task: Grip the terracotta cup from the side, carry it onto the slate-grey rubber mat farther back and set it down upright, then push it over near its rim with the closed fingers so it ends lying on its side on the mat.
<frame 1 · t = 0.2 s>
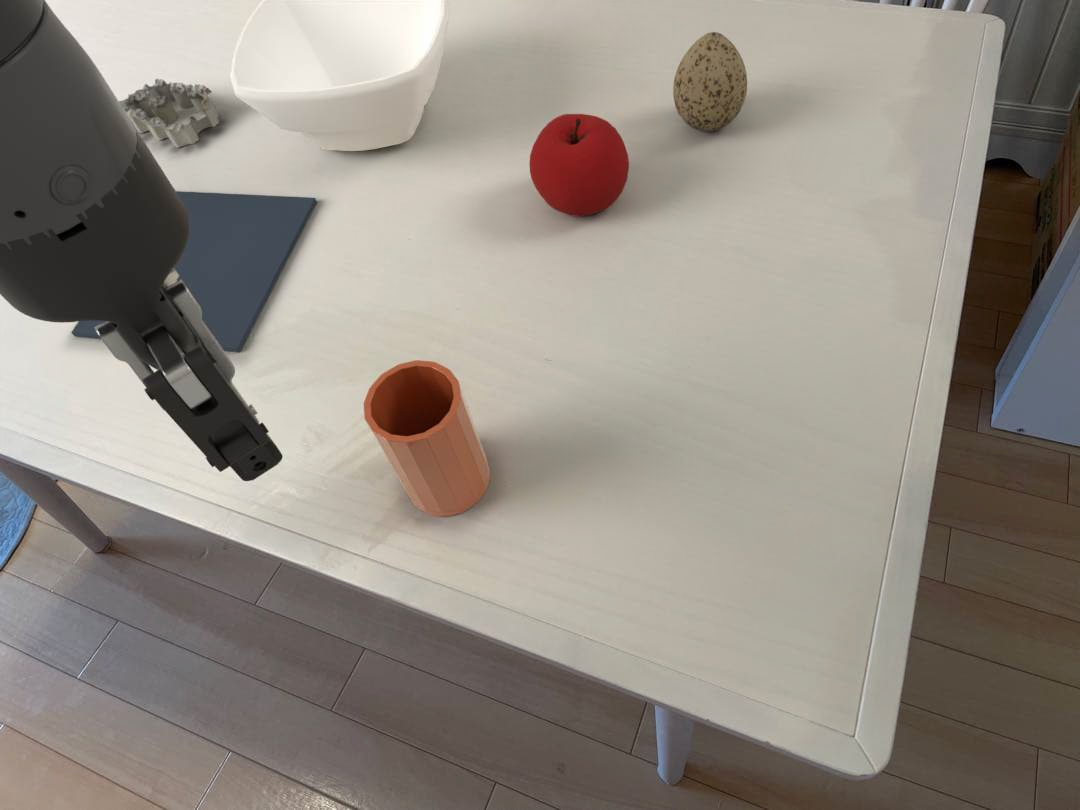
hand: (229, 412, 41), 21 cm above the table, tool pointing down, fingers open, 8 cm apart
cup: (448, 478, 62), on the table
grey jagged stone ring: (178, 125, 94), on the table
bowl: (374, 124, 89), on the table
mat: (200, 266, 79), on the table
decorative egg: (707, 126, 82), on the table
apple: (583, 201, 78), on the table
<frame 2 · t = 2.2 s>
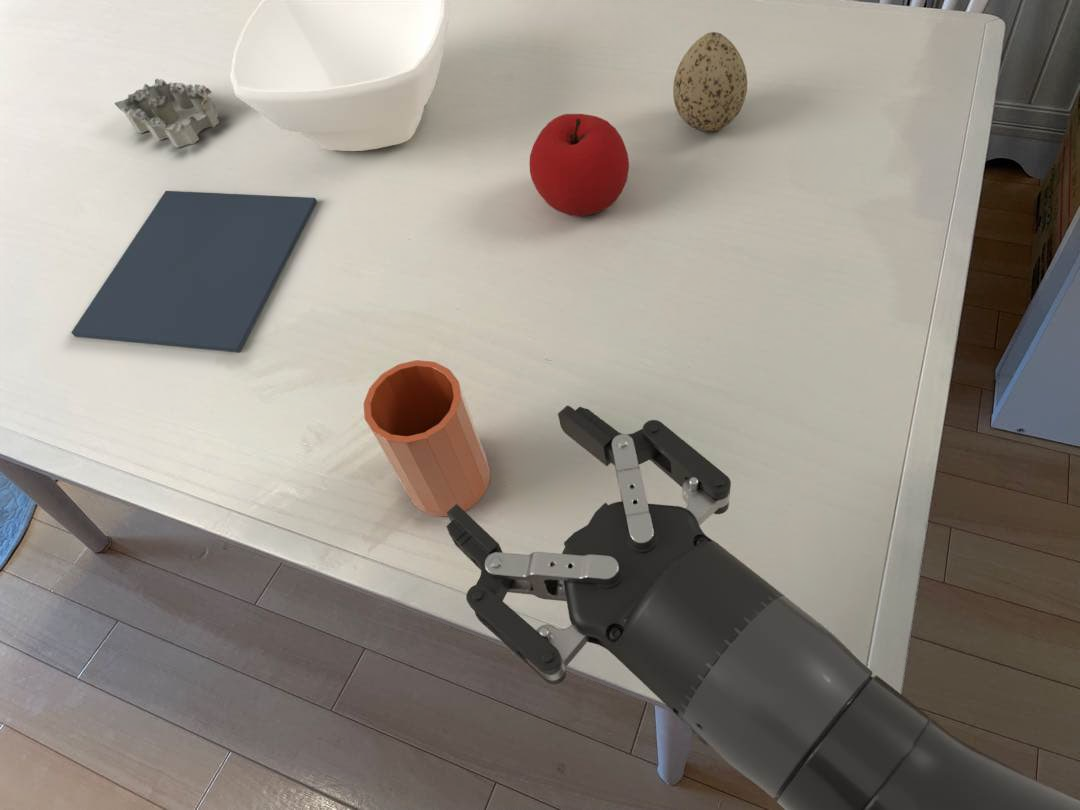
hand: (510, 464, 45), 15 cm above the table, tool horizontal, fingers open, 8 cm apart
nothing on the table moved.
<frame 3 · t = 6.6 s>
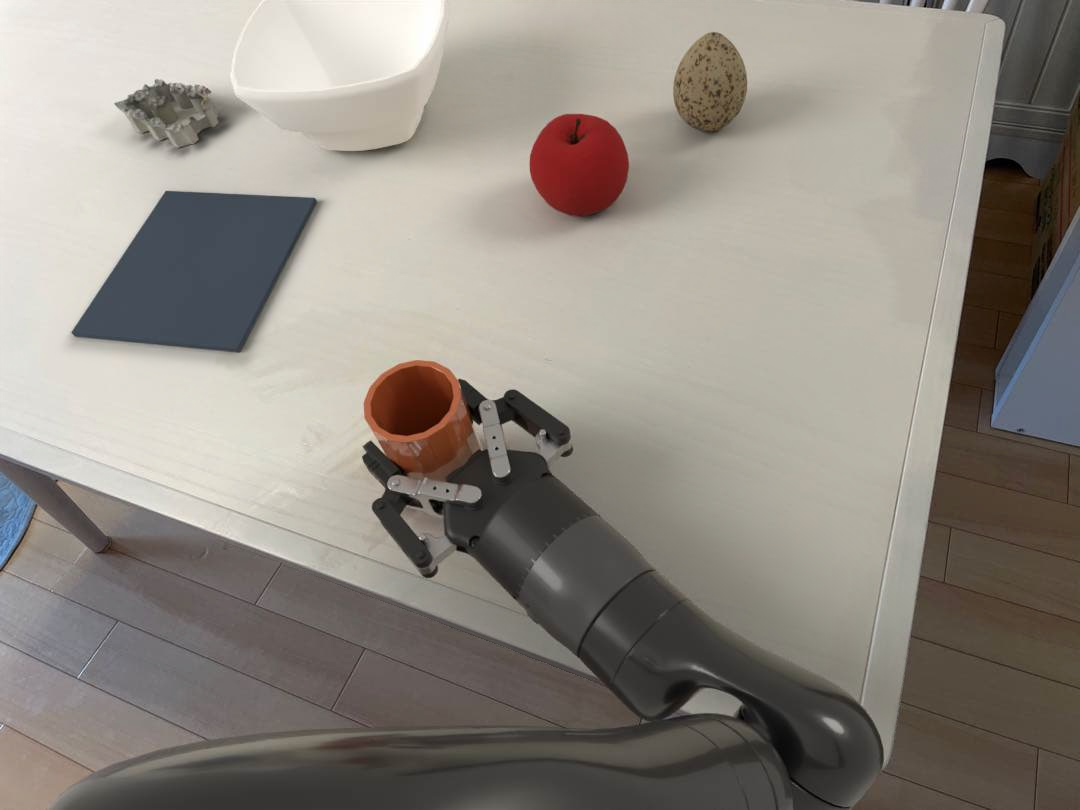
hand: (409, 417, 58), 6 cm above the table, tool horizontal, fingers closed on cup, 7 cm apart
cup: (448, 478, 62), on the table, touching gripper
everything else where it was.
when the fingers open (7 cm above the table, at t = 16.0 s): cup stays where it is, resting on mat.
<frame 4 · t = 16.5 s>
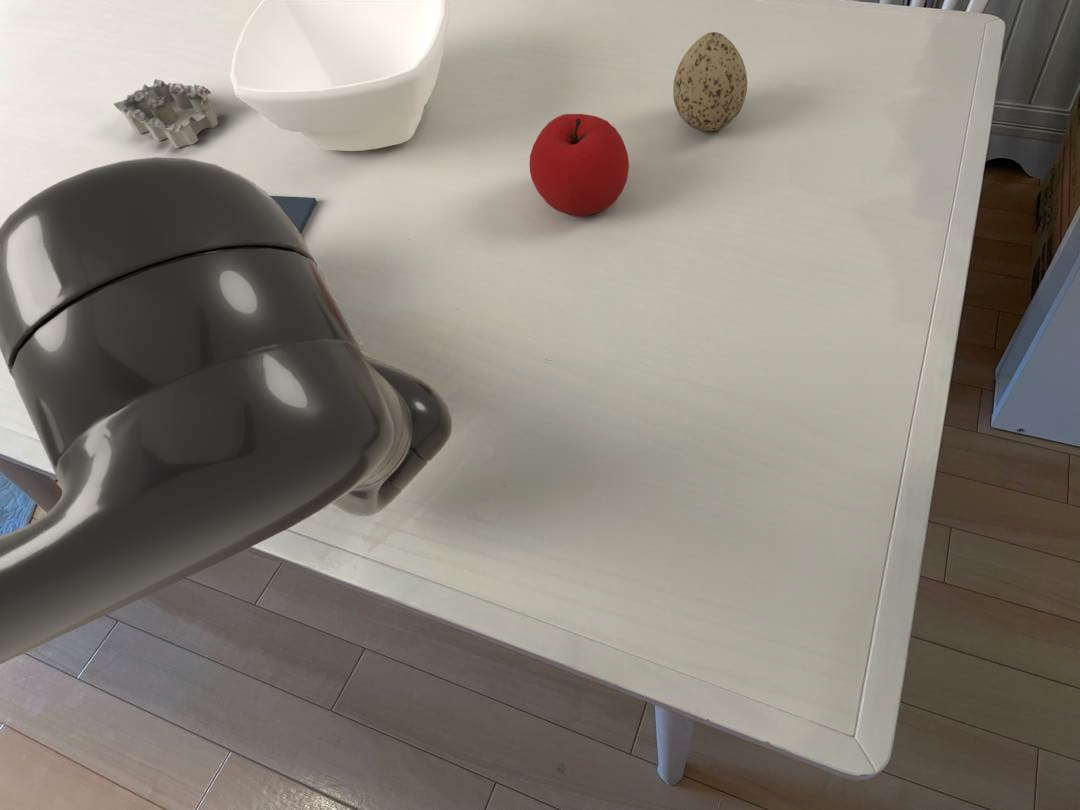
hand: (169, 232, 71), 8 cm above the table, tool horizontal, fingers open, 8 cm apart
cup: (217, 294, 76), point 1 cm above the table, touching mat
everything else where it was.
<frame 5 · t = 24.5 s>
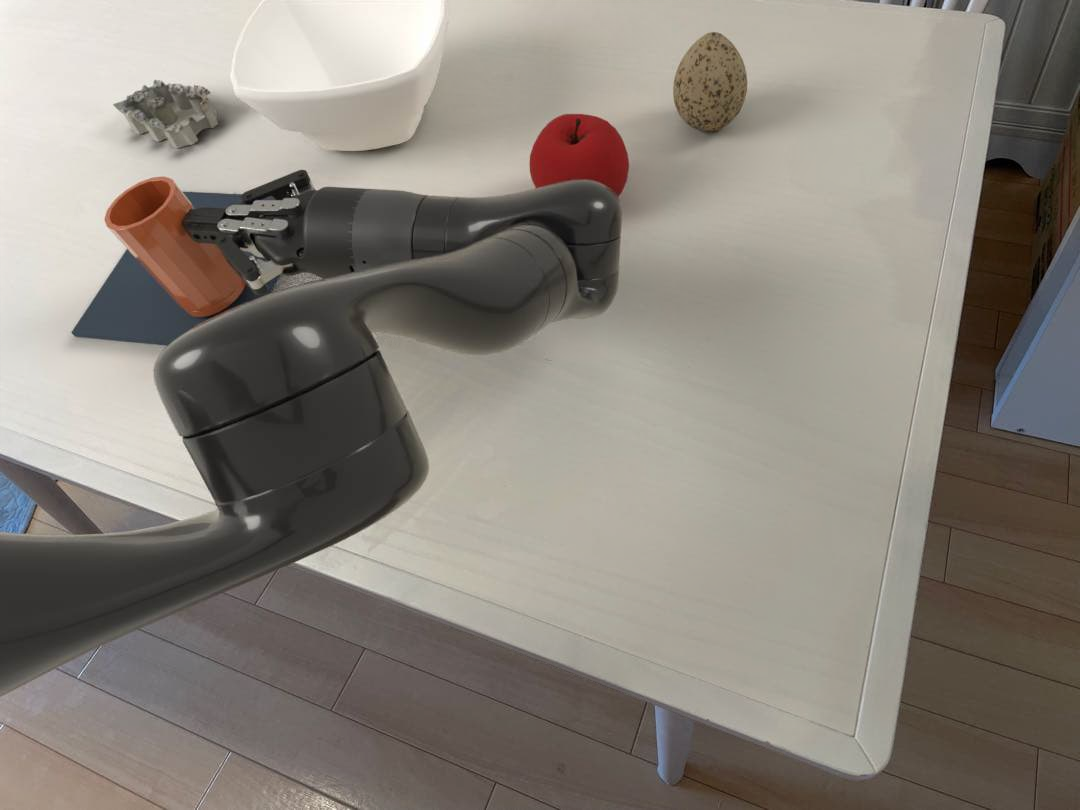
hand: (189, 224, 68), 10 cm above the table, tool horizontal, fingers closed
cup: (215, 291, 76), point 1 cm above the table, tilted 8°, touching mat
everything else where it was.
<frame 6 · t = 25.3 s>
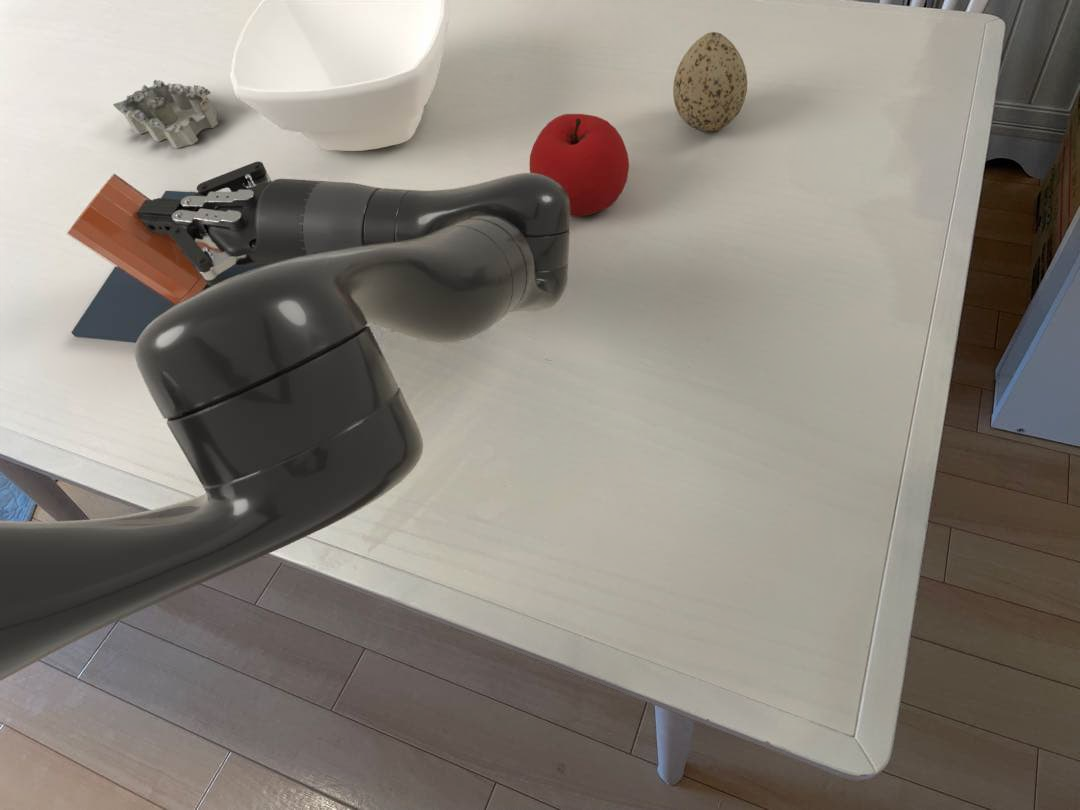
hand: (145, 215, 68), 11 cm above the table, tool horizontal, fingers closed
cup: (202, 280, 75), point 3 cm above the table, tilted 36°, touching gripper, mat
everything else where it was.
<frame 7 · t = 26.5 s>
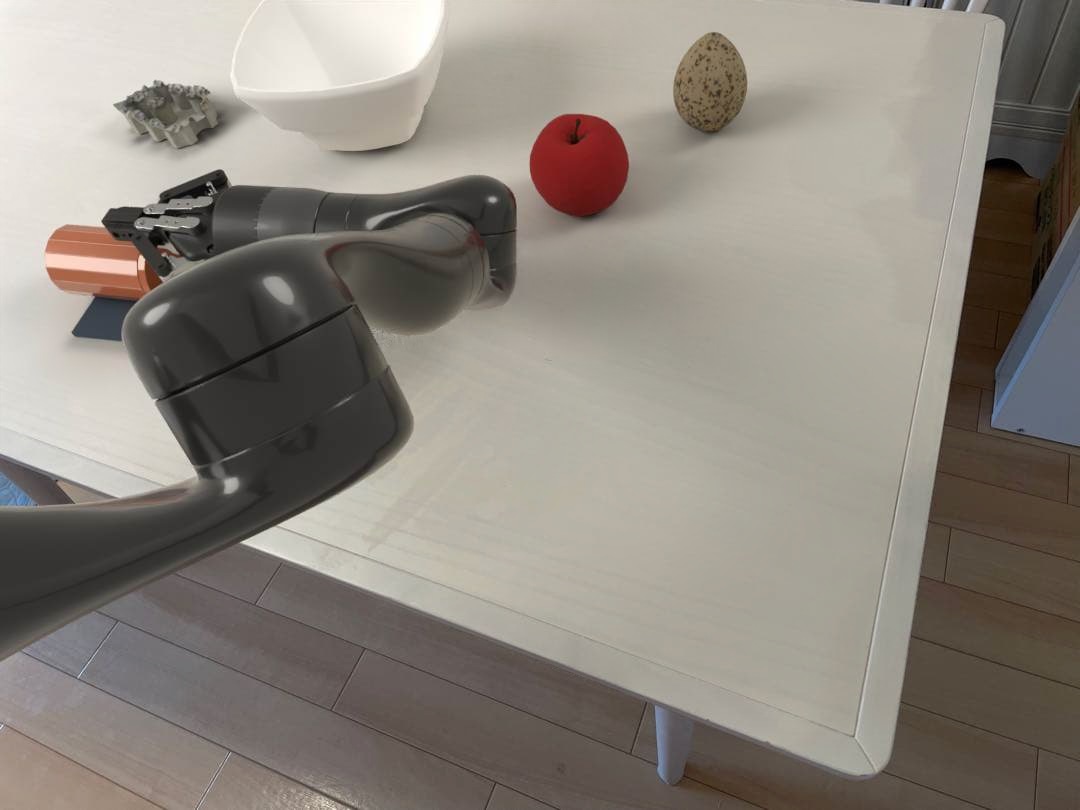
hand: (110, 223, 70), 9 cm above the table, tool horizontal, fingers closed
cup: (170, 268, 74), point 4 cm above the table, tilted 90°, touching mat
everything else where it was.
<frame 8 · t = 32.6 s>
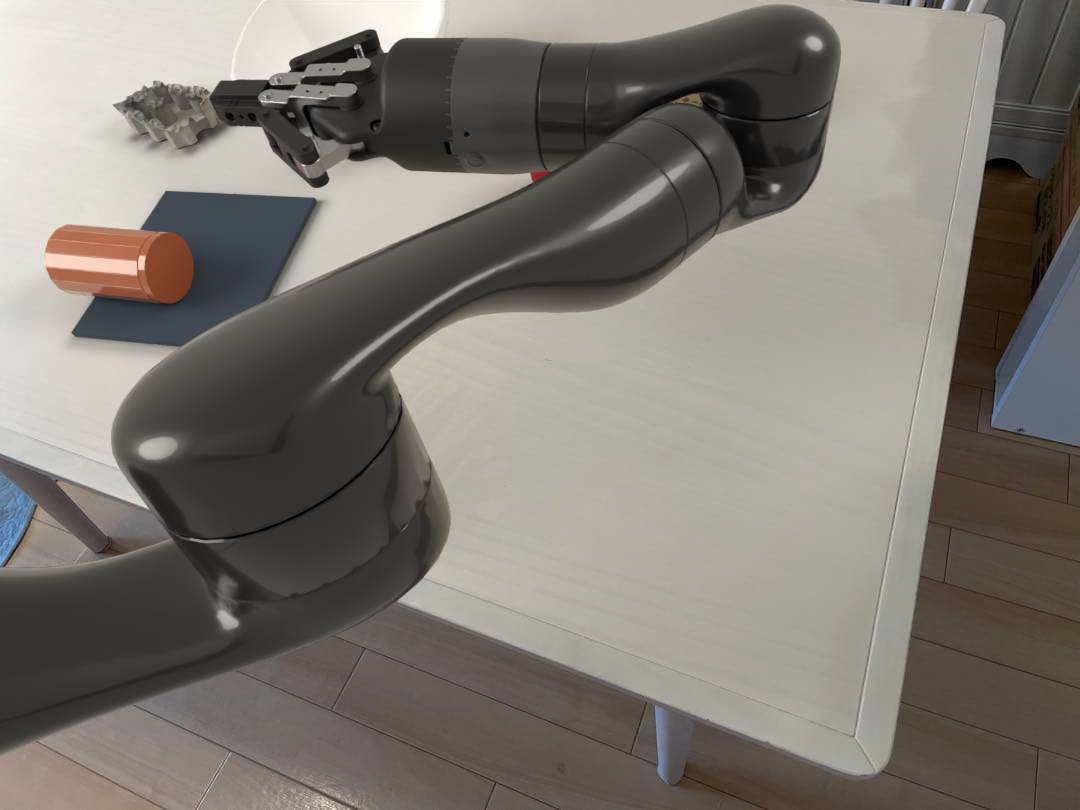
hand: (219, 102, 51), 25 cm above the table, tool horizontal, fingers closed
nothing on the table moved.
at the end: cup tilted 90°; cup inside the target area on the mat (4.0 cm from its centre), point 3.9 cm above the mat's base; the gripper is holding nothing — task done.
